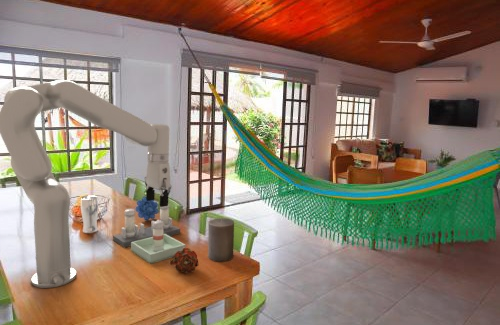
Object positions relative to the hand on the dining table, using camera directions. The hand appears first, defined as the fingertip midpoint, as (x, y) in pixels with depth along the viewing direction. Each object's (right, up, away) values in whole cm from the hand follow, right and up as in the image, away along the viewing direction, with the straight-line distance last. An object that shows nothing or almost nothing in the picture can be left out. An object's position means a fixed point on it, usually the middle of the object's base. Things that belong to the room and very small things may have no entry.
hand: (156, 203), depth 136 cm
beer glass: (-35, -15, +23) cm, 44 cm away
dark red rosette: (+12, -22, -10) cm, 27 cm away
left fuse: (-14, -15, +13) cm, 24 cm away
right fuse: (-3, -14, +24) cm, 28 cm away
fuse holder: (-9, -16, +19) cm, 26 cm away
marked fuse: (0, -18, +3) cm, 19 cm away
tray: (0, -19, +4) cm, 20 cm away
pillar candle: (+24, -21, +2) cm, 31 cm away
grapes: (-14, -13, +38) cm, 43 cm away
